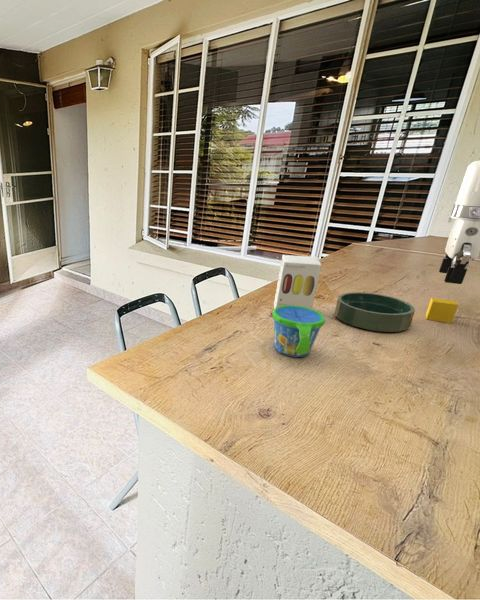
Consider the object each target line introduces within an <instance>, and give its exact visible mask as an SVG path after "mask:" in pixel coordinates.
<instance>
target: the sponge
mask: <svg viewBox="0 0 480 600" xmlns="http://www.w3.org/2000/svg"><path fill="white" fill-rule="evenodd" d="M458 307H459V303H458V302H457V300H451V299H444V298H438V297H437V298H435V297H431V298H430V301H429V304H428V306H427V310H426V312H425V318H426V320H429V321H433V322H434V321H435V322H439V323H446V324H447V323H448V324H452V323H453V321H454V318H455V316H456V313H457V310H458Z"/></svg>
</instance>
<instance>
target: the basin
mask: <svg viewBox="0 0 480 600" xmlns="http://www.w3.org/2000/svg"><path fill="white" fill-rule="evenodd" d="M415 312H416V309H415V306H413V305H412V304H411V303H409V302H408V301H405V300H403V299H400V298H397V297H393V296H391V295H390V296H389V295H384V294H379V293H373V292H360V291H359V292H358V291H357V292H356V291H355V292H354V291H353V292H345V293H342V294H340V295H338V296H337V301H336V305H335V309H334V313H333V314H334V316H335V317H336V318H337V319H338V320H340V321H342V322H343V323H346V324H348V325H350V326H352V327H356V328H359V329H363V330H368V331H371V332H381V333H382V332H384V333H393V332H395V333H396V332H402V331H406V330H408V329H409V328H410V326H411V324H412V321H413V317H414V314H415Z"/></svg>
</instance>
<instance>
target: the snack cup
mask: <svg viewBox="0 0 480 600" xmlns="http://www.w3.org/2000/svg"><path fill="white" fill-rule="evenodd" d="M272 318H273V346H274V348H275V350H277V352H278V353H279V354H283V355H284V356H287V357H290V358H302V357H306V356H308V355H309V354H310V353H311V350H312V349H313V346H314V343H315V342H316V339H317V336H318V335H319V332H320V329H321V328H322V327H323V326H324V325H325V322H326V321H325V320H326V319H325V316H324V314H322V312H320V311H318V310H315V309H313V308H312V309H310V308H306V307H301V306H280V307H277V308H275V309H274V308H273V310H272Z"/></svg>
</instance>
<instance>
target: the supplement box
mask: <svg viewBox="0 0 480 600" xmlns="http://www.w3.org/2000/svg"><path fill="white" fill-rule="evenodd" d="M281 256H282V257H281V261H280V267H279V273H278V279H277V282H276V283H277V284H276V289H275V290H276V291H275V295H274V299H273V300H274V301H273V310H274V309H275V308H277V307H280V306H301V307H306V308H310V309H313V306H314V302H315V297H316V292H317V288H318V283H319V279H320V274H321V270H322V263H321V262H320V261H321V260H320V259H319V258H318V256H311V255H309V256H308V255H307V256H306V255H294V254H293V255H290V254H282V255H281Z"/></svg>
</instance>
